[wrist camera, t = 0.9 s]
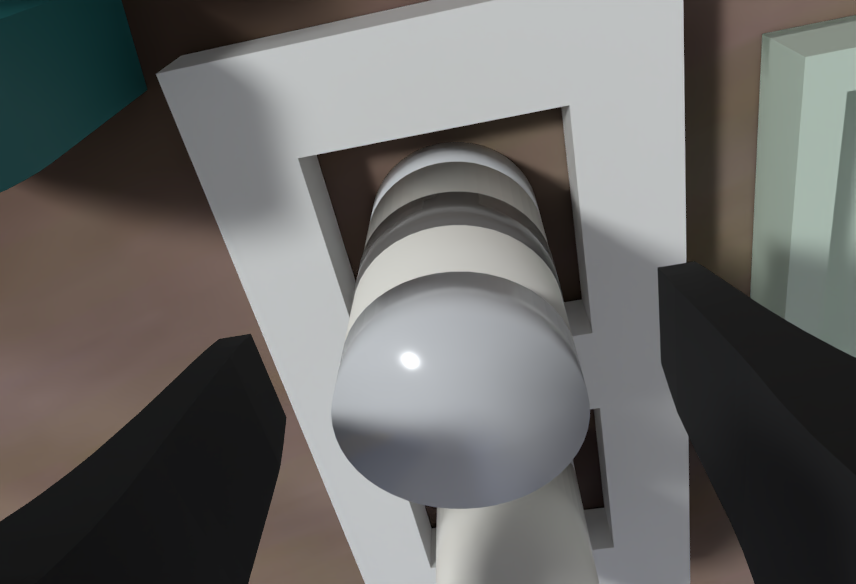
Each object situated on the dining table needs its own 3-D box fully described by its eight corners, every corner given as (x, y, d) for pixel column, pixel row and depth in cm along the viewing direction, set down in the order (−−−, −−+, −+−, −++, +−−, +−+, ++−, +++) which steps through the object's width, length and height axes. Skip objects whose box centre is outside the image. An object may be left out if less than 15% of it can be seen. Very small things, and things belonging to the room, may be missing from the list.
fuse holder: (676, 543, 23) (690, 584, 21) (382, 577, 24) (378, 616, 23) (660, -51, 13) (682, -41, 12) (181, 55, 15) (155, 74, 13)
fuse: (576, 492, 21) (626, 733, 16) (451, 508, 22) (452, 746, 16) (563, 396, 19) (614, 631, 13) (425, 416, 20) (416, 650, 14)
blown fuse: (547, 278, 17) (600, 494, 11) (392, 303, 18) (366, 522, 12) (527, 125, 15) (579, 292, 9) (352, 159, 16) (296, 337, 10)
